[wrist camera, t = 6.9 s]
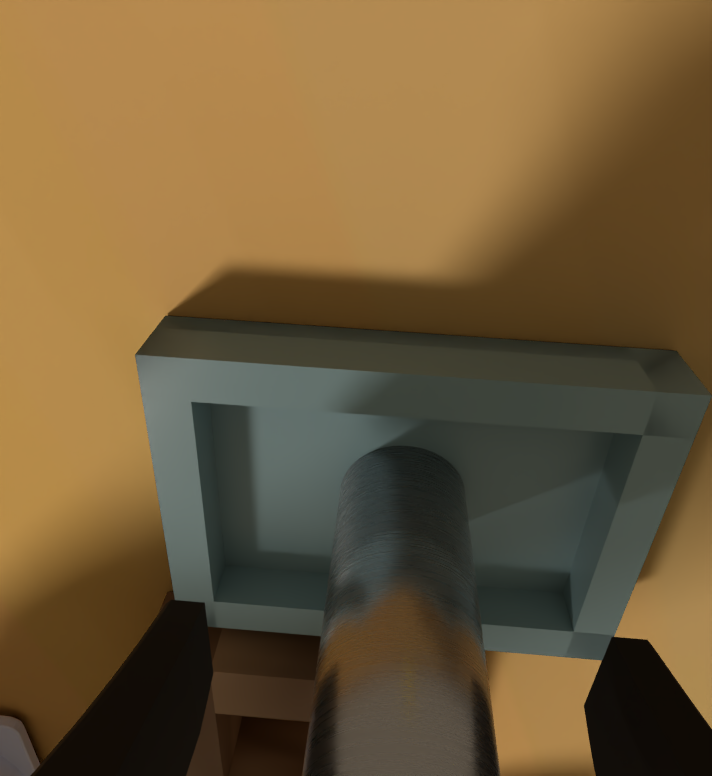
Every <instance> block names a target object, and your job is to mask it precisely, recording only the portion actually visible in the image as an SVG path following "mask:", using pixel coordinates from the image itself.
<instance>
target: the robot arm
mask: <svg viewBox="0 0 712 776" xmlns="http://www.w3.org/2000/svg"><path fill="white" fill-rule="evenodd" d="M212 677H213V665H212V657H211V649H210V641H209V633H208V625H207V617H206V609H205V603H204V602H193V601H181V600H170V601H169V602H167V603H166V604H165V605H164V607H163V608H162V610H161V611H160V613H159V614H158V616H157V617H156V619H155V620H154V622H153V623H152V624H151V626H150V627H149V629H148V630H147V632H146V633H145V634H144V636H143V637H142V639H141V640H140V641H139V643H138V644H137V646H136V647H135V648H134V650H133V651H132V652H131V654H130V655H129V656H128V658H127V659H126V660H125V662H124V663H123V664H122V666H121V667H120V668H119V670H118V671H117V672H116V674H115V675H114V676H113V677H112V679H111V680H110V681H109V683H108V684H107V685H106V686H105V688H104V689H103V690H102V691H101V693H100V694H99V695H98V696H97V698H96V699H95V700H94V701H93V703H92V704H91V705H90V707H89V708H88V709H87V710H86V712H85V713H84V714H83V715H82V716H81V718H80V719H79V720H78V721H77V723H76V724H75V725H74V726H73V727H72V728H71V730H70V731H69V732H68V733H67V734H66V735H65V736H64V738H63V739H62V740H61V741H60V742H59V743H58V745H57V746H56V747H55V748H54V749H53V750H52V752H51V753H50V754H49V755H48V756H47V757H46V758H45V760H44V761H43V762H42V763H41V764H40V763H39V761H38V758H37V756H36V753H35V751H34V749H33V746H32V744H31V741H30V739H29V737H28V734H27V732H26V729H25V727H24V725H23V723H22V722H21V721H20V720H18V719H17V718H14V717H11V716H3V715H0V776H186V775H187V771H188V768H189V765H190V762H191V759H192V756H193V753H194V750H195V747H196V744H197V741H198V738H199V735H200V731H201V727H202V722H203V718H204V714H205V709H206V705H207V700H208V696H209V691H210V687H211V682H212ZM584 708H585V715H586V721H587V728H588V734H589V741H590V746H591V752H592V758H593V763H594V769H595V773H596V776H712V729H711V728H710V726H709V725H708V723H707V722H706V721H705V719H704V718H703V717H702V715H701V714H700V712H699V711H698V710H697V708H696V707H695V706H694V704H693V703H692V701H691V700H690V699H689V697H688V696H687V694H686V693H685V692H684V690H683V689H682V687H681V686H680V685H679V683H678V682H677V680H676V679H675V677H674V676H673V675H672V673H671V672H670V670H669V669H668V668H667V666H666V665H665V663H664V662H663V660H662V659H661V658H660V656H659V655H658V653H657V652H656V650H655V649H654V648H653V646H652V645H651V644H650V643H649V641H648V640H643V639H631V638H619V637H612V638H611V640H610V643H609V645H608V648H607V650H606V653H605V655H604V657H603V660H602V662H601V665H600V667H599V670H598V672H597V675H596V677H595V680H594V682H593V685H592V687H591V690H590V692H589V695H588V697H587V699H586V702H585V704H584Z"/></svg>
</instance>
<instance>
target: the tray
mask: <svg viewBox="0 0 712 776" xmlns="http://www.w3.org/2000/svg"><path fill="white" fill-rule="evenodd" d="M135 357H136V363H137V369H138V375H139V382H140V388H141V394H142V400H143V406H144V413H145V419H146V425H147V431H148V437H149V443H150V450H151V456H152V462H153V468H154V474H155V481H156V487H157V493H158V499H159V505H160V511H161V518H162V524H163V530H164V536H165V542H166V549H167V555H168V561H169V567H170V573H171V579H172V586H173V592H174V598H175V600H181V601H193V602H204V603H205V609H206V617H207V625H208V627H219V628H231V629H243V630H254V631H266V632H278V633H289V634H301V635H313V636H321V631H322V623H323V616H324V608H325V601H326V594H327V586H328V579H329V571H330V564H331V556H332V549H333V541H334V534H335V526H336V519H337V511H338V504H339V496H340V489H341V483H342V480H343V477H344V475H345V474H346V472H347V470H348V469H349V468H350V466H351V465H352V464H353V463H354V462H355V461H357V460H358V459H359V458H361V457H362V456H364V455H366V454H367V453H369V452H372V451H374V450H377V449H380V448H384V447H390V446H413V447H419V448H423V449H426V450H429V451H431V452H434V453H436V454H438V455H440V456H441V457H443V458H444V459H446V460H447V461H448V462H449V463H450V464H452V465H453V466H454V468H455V469H456V470H457V471H458V473H459V475H460V476H461V478H462V481H463V484H464V488H465V496H466V504H467V512H468V520H469V528H470V536H471V544H472V552H473V560H474V568H475V576H476V584H477V592H478V600H479V608H480V616H481V624H482V632H483V641H484V649H485V650H488V651H499V652H511V653H523V654H535V655H546V656H558V657H570V658H581V659H593V660H603V657H604V655H605V653H606V650H607V648H608V645H609V643H610V640H611V638H612V637H614V635H615V633H616V630H617V628H618V625H619V623H620V620H621V618H622V616H623V613H624V611H625V608H626V606H627V603H628V601H629V598H630V596H631V593H632V591H633V589H634V586H635V584H636V581H637V579H638V576H639V574H640V571H641V569H642V566H643V564H644V562H645V559H646V557H647V554H648V552H649V549H650V547H651V544H652V542H653V539H654V537H655V535H656V532H657V530H658V527H659V525H660V522H661V520H662V517H663V515H664V512H665V510H666V508H667V505H668V503H669V500H670V498H671V495H672V493H673V490H674V488H675V485H676V483H677V481H678V478H679V476H680V473H681V471H682V468H683V466H684V463H685V461H686V459H687V456H688V454H689V451H690V449H691V446H692V444H693V441H694V439H695V436H696V434H697V432H698V429H699V427H700V424H701V422H702V419H703V417H704V414H705V412H706V409H707V407H708V405H709V402H710V400H711V397H712V395H711V394H710V393H709V391H708V390H707V389H706V388H705V386H704V385H703V384H702V383H701V381H700V380H699V379H698V378H697V376H696V375H695V374H694V373H693V371H692V370H691V369H690V368H689V366H688V365H687V364H686V362H685V361H684V360H683V359H682V357H681V356H680V355H679V354H678V352H677V351H671V350H657V349H642V348H628V347H613V346H599V345H584V344H570V343H555V342H541V341H526V340H512V339H497V338H483V337H468V336H454V335H439V334H425V333H410V332H396V331H381V330H367V329H352V328H338V327H323V326H309V325H294V324H280V323H265V322H251V321H236V320H222V319H207V318H193V317H178V316H165V317H164V318H163V320H162V321H161V322H160V323H159V325H158V326H157V327H156V329H155V330H154V331H153V332H152V334H151V335H150V336H149V338H148V339H147V340H146V341H145V343H144V344H143V345H142V347H141V348H140V349H139V350H138V352H137V353H136V354H135Z"/></svg>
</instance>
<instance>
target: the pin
mask: <svg viewBox="0 0 712 776" xmlns="http://www.w3.org/2000/svg"><path fill="white" fill-rule="evenodd" d="M302 776H500V769H499V761H498V753H497V745H496V737H495V729H494V721H493V713H492V705H491V697H490V689H489V681H488V673H487V665H486V657H485V649H484V641H483V632H482V624H481V616H480V608H479V600H478V592H477V584H476V576H475V568H474V560H473V552H472V544H471V536H470V528H469V520H468V512H467V504H466V496H465V488H464V484H463V481H462V478H461V476H460V475H459V473H458V471H457V470H456V469H455V468H454V466H453V465H452V464H450V463H449V462H448V461H447V460H446V459H444V458H443V457H441V456H440V455H438V454H436V453H434V452H431V451H429V450H426V449H423V448H419V447H413V446H390V447H384V448H380V449H377V450H374V451H372V452H369V453H367V454H366V455H364V456H362V457H361V458H359V459H358V460H357V461H355V462H354V463H353V464H352V465H351V466H350V468H349V469H348V470H347V472H346V474H345V475H344V477H343V480H342V483H341V489H340V496H339V504H338V511H337V519H336V526H335V534H334V541H333V549H332V556H331V564H330V571H329V579H328V586H327V594H326V601H325V608H324V616H323V623H322V631H321V638H320V646H319V653H318V661H317V668H316V676H315V683H314V691H313V698H312V706H311V713H310V720H309V728H308V735H307V743H306V750H305V758H304V765H303V773H302Z"/></svg>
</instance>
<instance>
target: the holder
mask: <svg viewBox="0 0 712 776" xmlns="http://www.w3.org/2000/svg"><path fill="white" fill-rule="evenodd" d="M170 600H175V598H174V592H167V595H166V597H165V600H164V602H163V604H162V607H161V609H160V611H161V610H162V608H163V607H164V605H165V604H166V603H167V602H169V601H170ZM159 613H160V612H159ZM208 633H209V641H210V649H211V657H212V665H213V677H212V682H211V687H210V691H209V696H208V700H207V705H206V709H205V714H204V718H203V722H202V727H201V731H200V735H199V738H198V741H197V744H196V747H195V750H194V753H193V756H192V759H191V762H190V765H189V768H188V771H187V775H186V776H302V773H303V765H304V758H305V750H306V743H307V735H308V728H309V720H310V713H311V706H312V698H313V691H314V683H315V676H316V668H317V661H318V653H319V646H320V638H321V636H313V635H301V634H289V633H278V632H266V631H254V630H243V629H231V628H219V627H208ZM244 716H250V717H244ZM255 717H261V718H255ZM266 718H272V719H266ZM277 719H283V720H277ZM289 720H294V721H289ZM300 721H305V722H300Z"/></svg>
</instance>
